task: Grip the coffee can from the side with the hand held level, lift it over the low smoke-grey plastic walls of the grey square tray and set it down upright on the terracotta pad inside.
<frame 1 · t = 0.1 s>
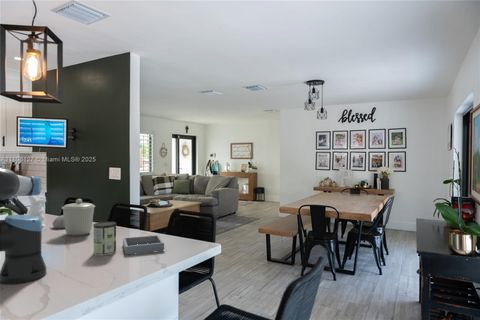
hand: (3, 225, 145), 15 cm above the kitchen island, tool tilted 35°, fingers open, 13 cm apart
resting pad: (142, 248, 164), resting in grey square tray
coffee can: (104, 253, 156), on the kitchen island
sea urchin shell: (64, 227, 213), on the kitchen island
canister: (78, 234, 194), on the kitchen island
grey square tray: (142, 248, 164), on the kitchen island
cherub figurine: (39, 227, 212), on the kitchen island
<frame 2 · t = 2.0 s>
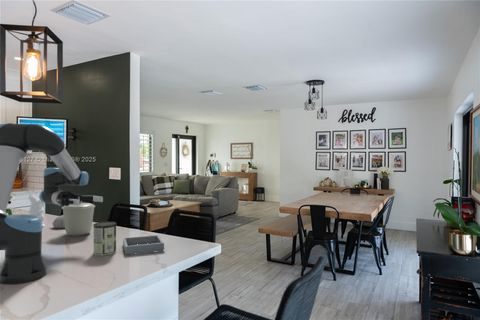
hand: (91, 201, 161), 24 cm above the kitchen island, tool horizontal, fingers open, 13 cm apart
nothing on the kitchen island moved.
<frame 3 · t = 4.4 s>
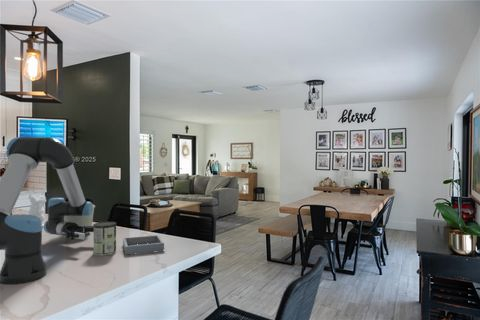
hand: (96, 233, 160), 8 cm above the kitchen island, tool horizontal, fingers open, 13 cm apart
nothing on the kitchen island moved.
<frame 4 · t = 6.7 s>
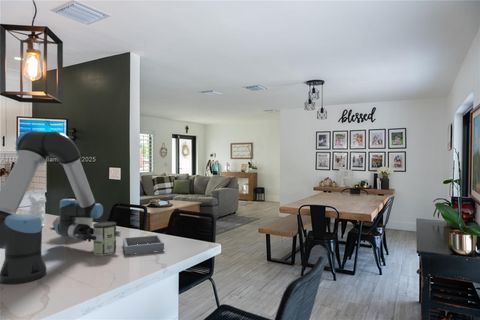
hand: (111, 236, 155), 8 cm above the kitchen island, tool horizontal, fingers closed on coffee can, 10 cm apart
coffee can: (104, 253, 156), on the kitchen island, touching gripper
everything else where it was.
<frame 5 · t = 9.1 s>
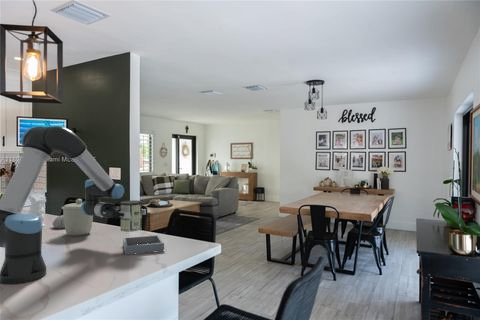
hand: (137, 213, 161), 18 cm above the kitchen island, tool horizontal, fingers closed on coffee can, 10 cm apart
coffee can: (131, 230, 163), point 10 cm above the kitchen island, touching gripper
everything else where it was.
when the fingers open (10 cm above the kitchen island, at t = 11.6 s): coffee can drops 1 cm, resting on resting pad.
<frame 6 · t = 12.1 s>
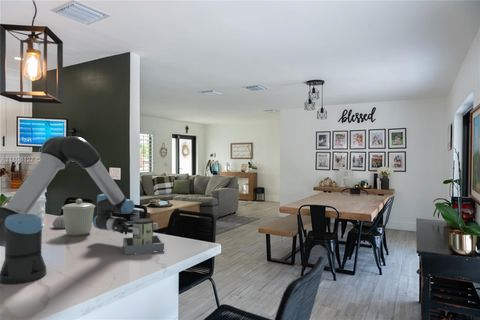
hand: (148, 228, 163), 10 cm above the kitchen island, tool horizontal, fingers open, 13 cm apart
coffee can: (142, 247, 164), resting on resting pad
everything else where it was.
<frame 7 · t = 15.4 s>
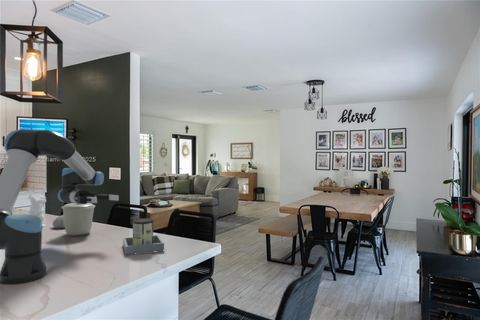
hand: (107, 199, 166), 25 cm above the kitchen island, tool horizontal, fingers open, 13 cm apart
nothing on the kitchen island moved.
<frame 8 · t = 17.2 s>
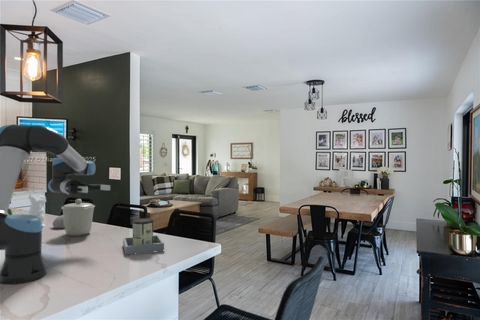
hand: (98, 188, 165), 30 cm above the kitchen island, tool horizontal, fingers open, 13 cm apart
nothing on the kitchen island moved.
at the end: coffee can inside the target area on the grey square tray (0.1 cm from its centre), point 0.2 cm above the grey square tray's base; coffee can tilted 0°; the gripper is holding nothing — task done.
